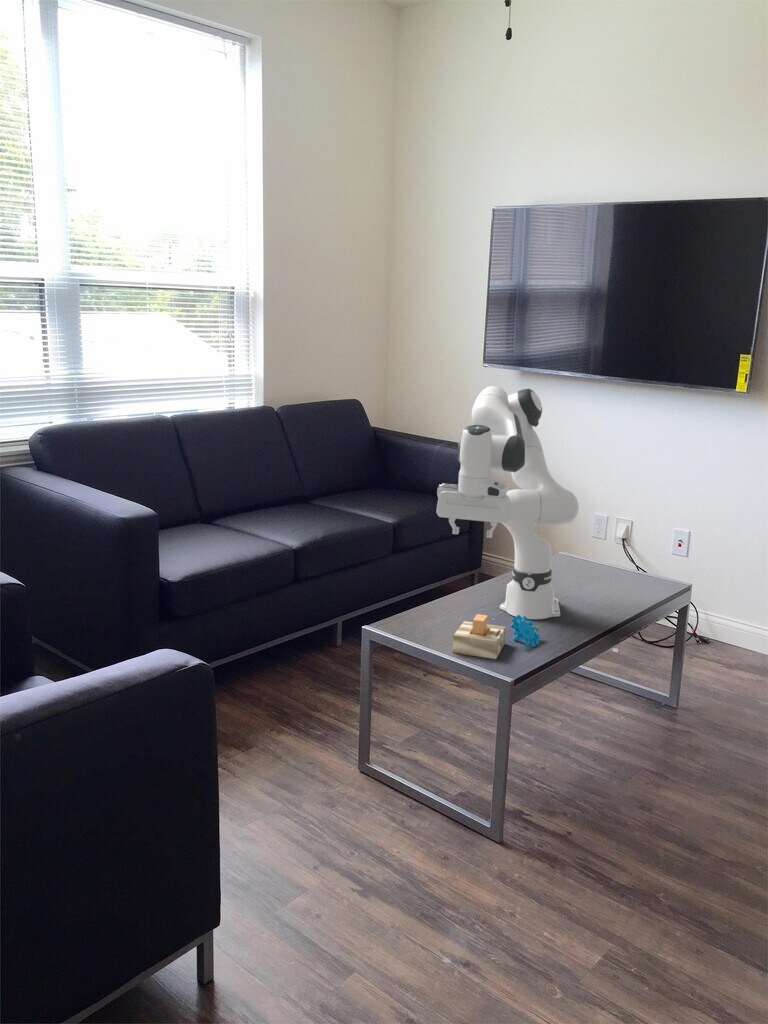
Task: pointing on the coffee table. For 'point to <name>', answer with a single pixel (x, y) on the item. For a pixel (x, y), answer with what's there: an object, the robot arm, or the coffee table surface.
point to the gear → (525, 631)
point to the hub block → (479, 641)
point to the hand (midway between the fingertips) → (472, 535)
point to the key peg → (480, 625)
